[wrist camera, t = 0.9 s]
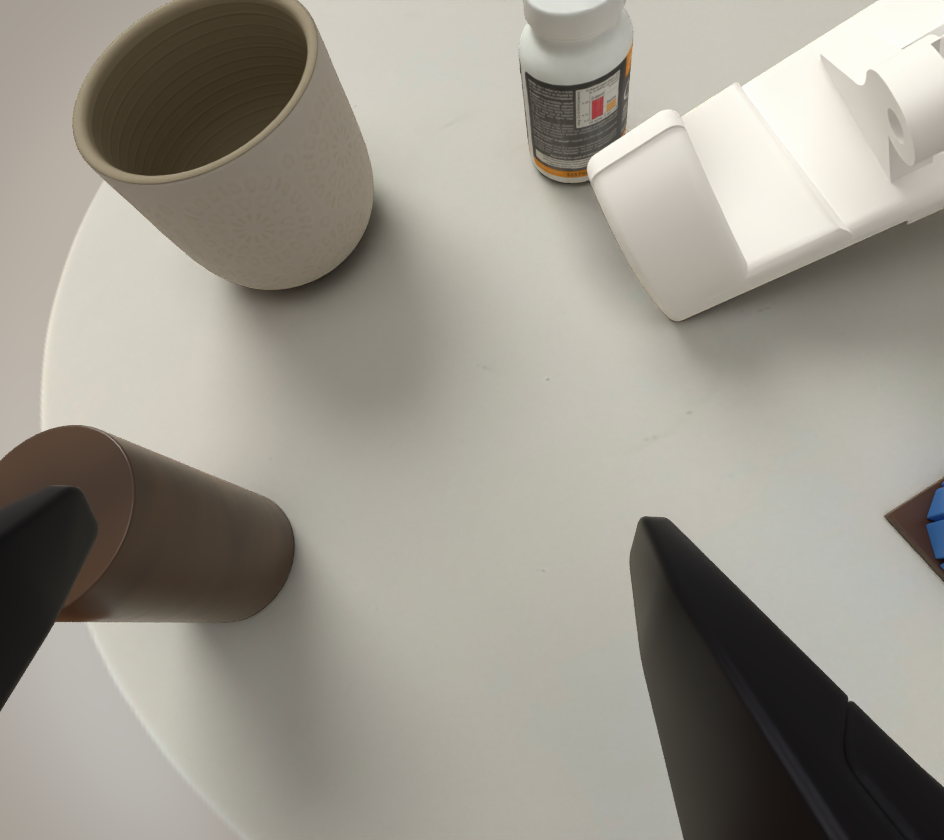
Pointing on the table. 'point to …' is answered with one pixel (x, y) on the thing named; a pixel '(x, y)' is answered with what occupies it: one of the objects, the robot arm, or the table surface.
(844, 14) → the table surface
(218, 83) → the planter
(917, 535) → the peg stand
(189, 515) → the pedestal
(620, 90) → the pill bottle
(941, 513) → the tape roll
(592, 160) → the tape dispenser
